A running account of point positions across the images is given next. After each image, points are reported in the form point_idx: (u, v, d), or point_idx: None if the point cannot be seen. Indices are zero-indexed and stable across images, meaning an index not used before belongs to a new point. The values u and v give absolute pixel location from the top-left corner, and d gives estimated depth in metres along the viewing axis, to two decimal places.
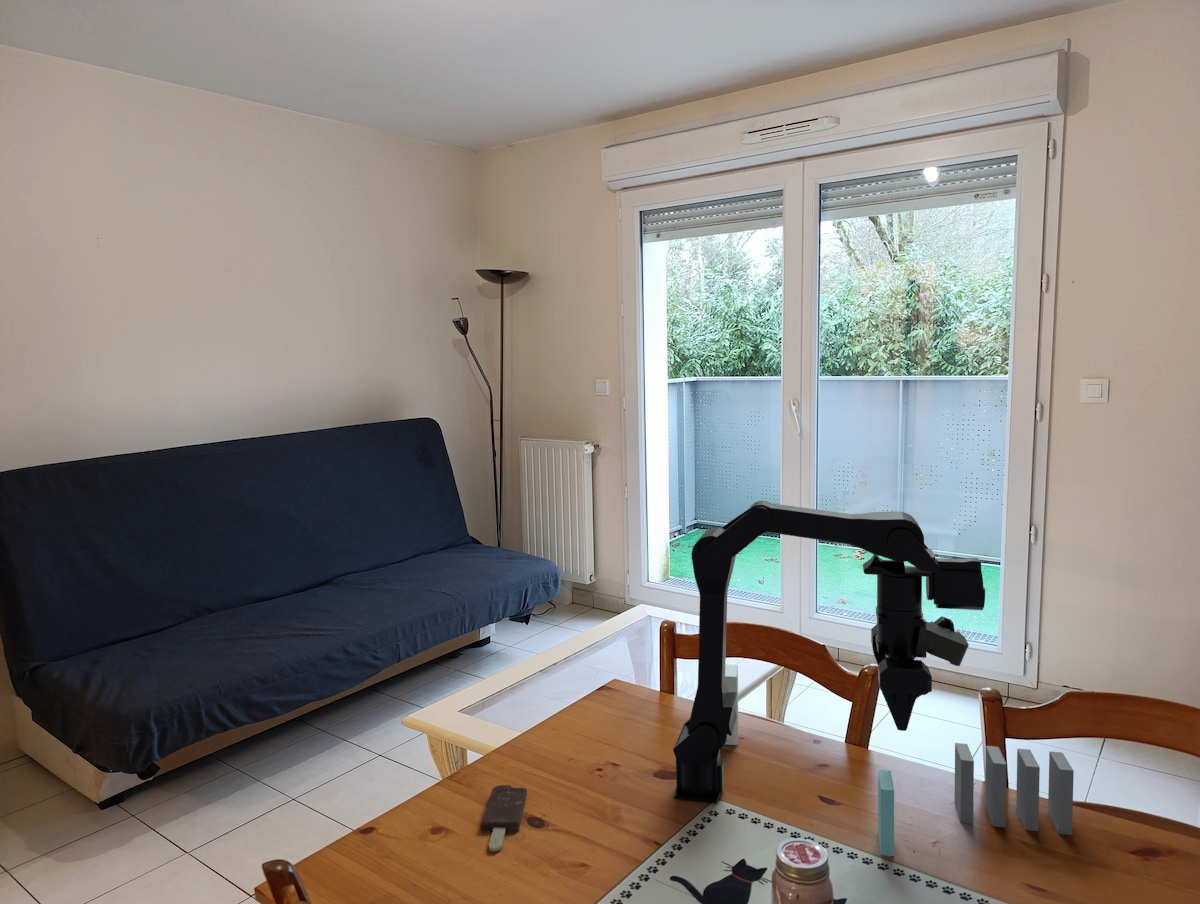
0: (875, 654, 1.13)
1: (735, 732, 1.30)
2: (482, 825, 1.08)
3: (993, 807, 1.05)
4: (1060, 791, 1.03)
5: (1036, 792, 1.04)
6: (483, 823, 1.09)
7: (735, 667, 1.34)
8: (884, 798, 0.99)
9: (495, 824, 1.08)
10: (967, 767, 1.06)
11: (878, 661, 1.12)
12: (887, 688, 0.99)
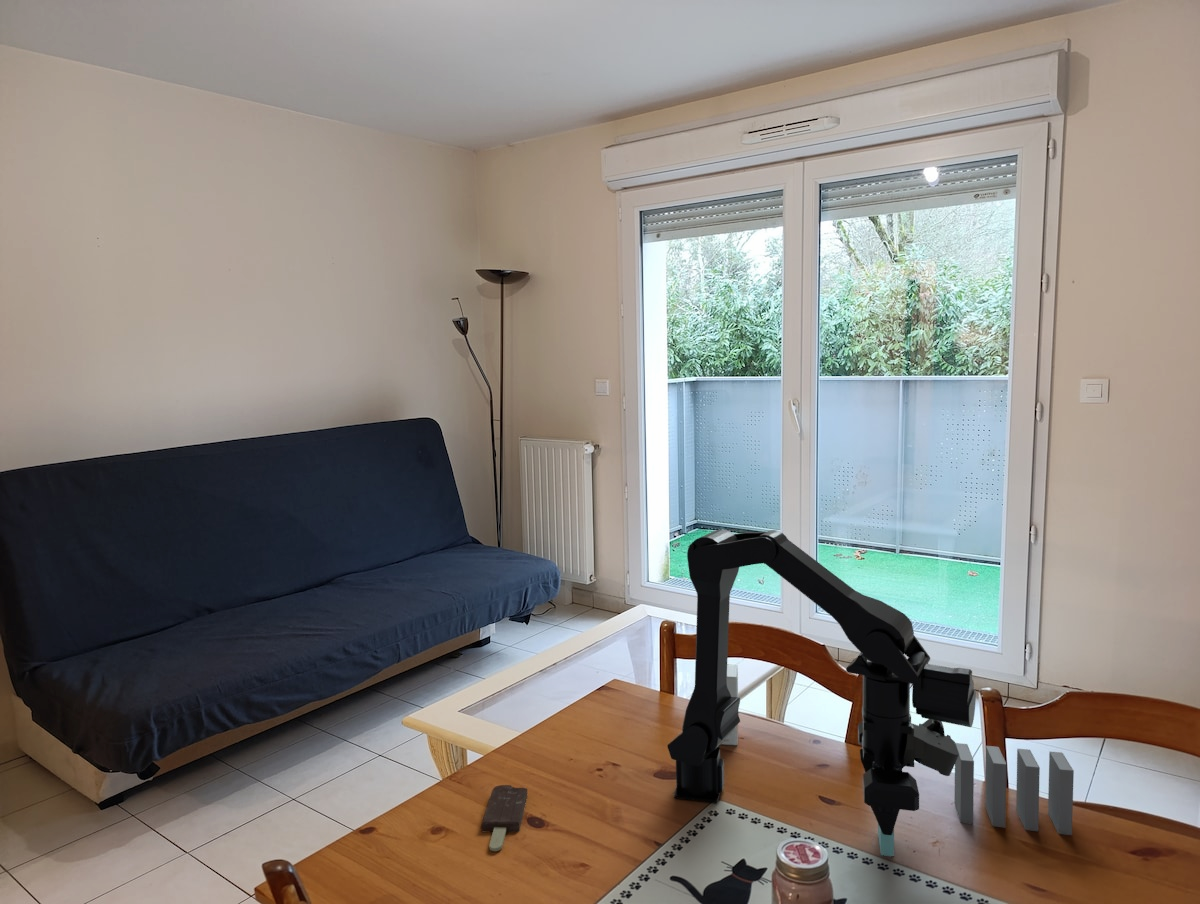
0: (862, 760, 1.05)
1: (735, 732, 1.30)
2: (483, 825, 1.08)
3: (993, 807, 1.05)
4: (1060, 791, 1.03)
5: (1036, 792, 1.04)
6: (484, 823, 1.09)
7: (735, 667, 1.34)
8: None
9: (495, 824, 1.08)
10: (967, 767, 1.06)
11: (865, 768, 1.05)
12: (872, 804, 0.93)
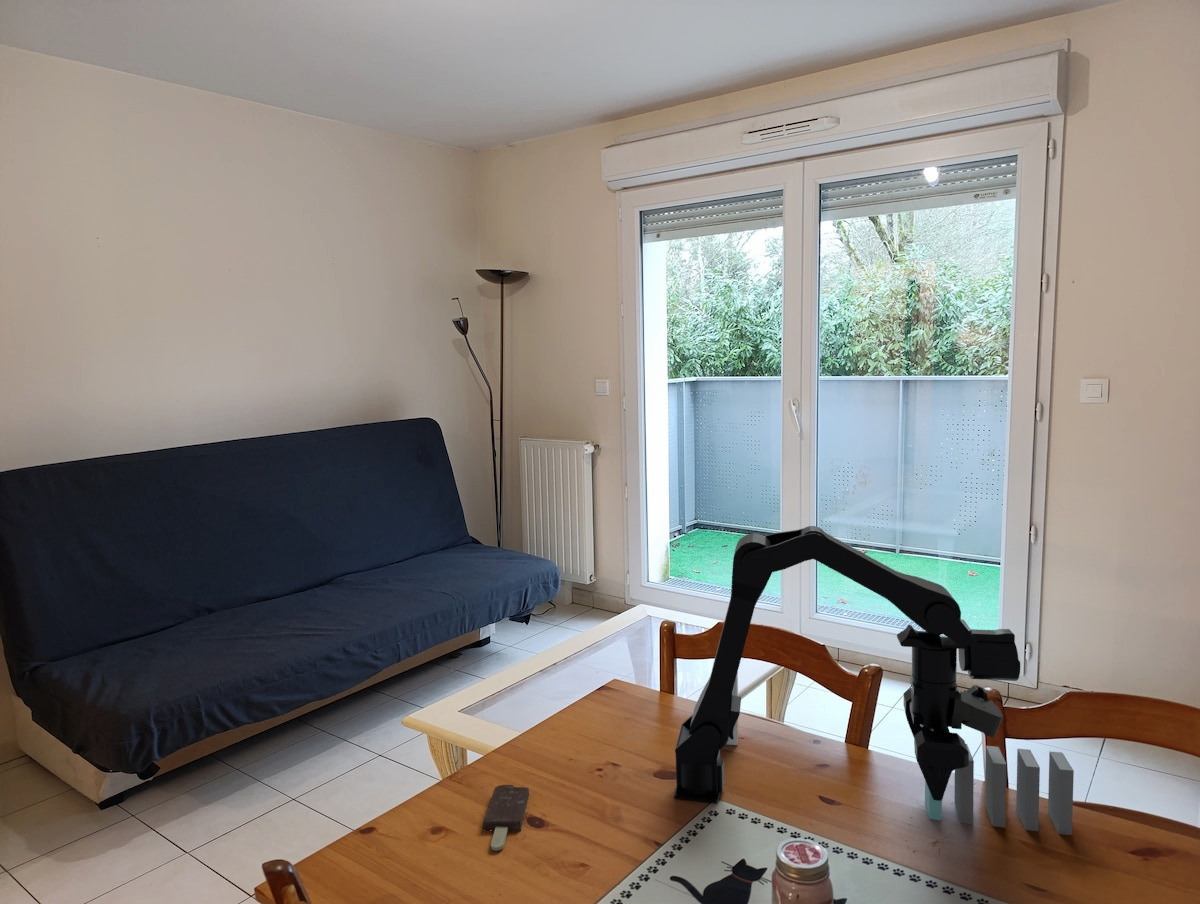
0: (908, 720, 1.15)
1: (735, 732, 1.30)
2: (484, 824, 1.09)
3: (993, 807, 1.05)
4: (1060, 791, 1.03)
5: (1036, 792, 1.04)
6: (485, 822, 1.09)
7: None
8: None
9: (497, 823, 1.09)
10: (967, 767, 1.06)
11: (911, 727, 1.14)
12: (924, 762, 1.01)
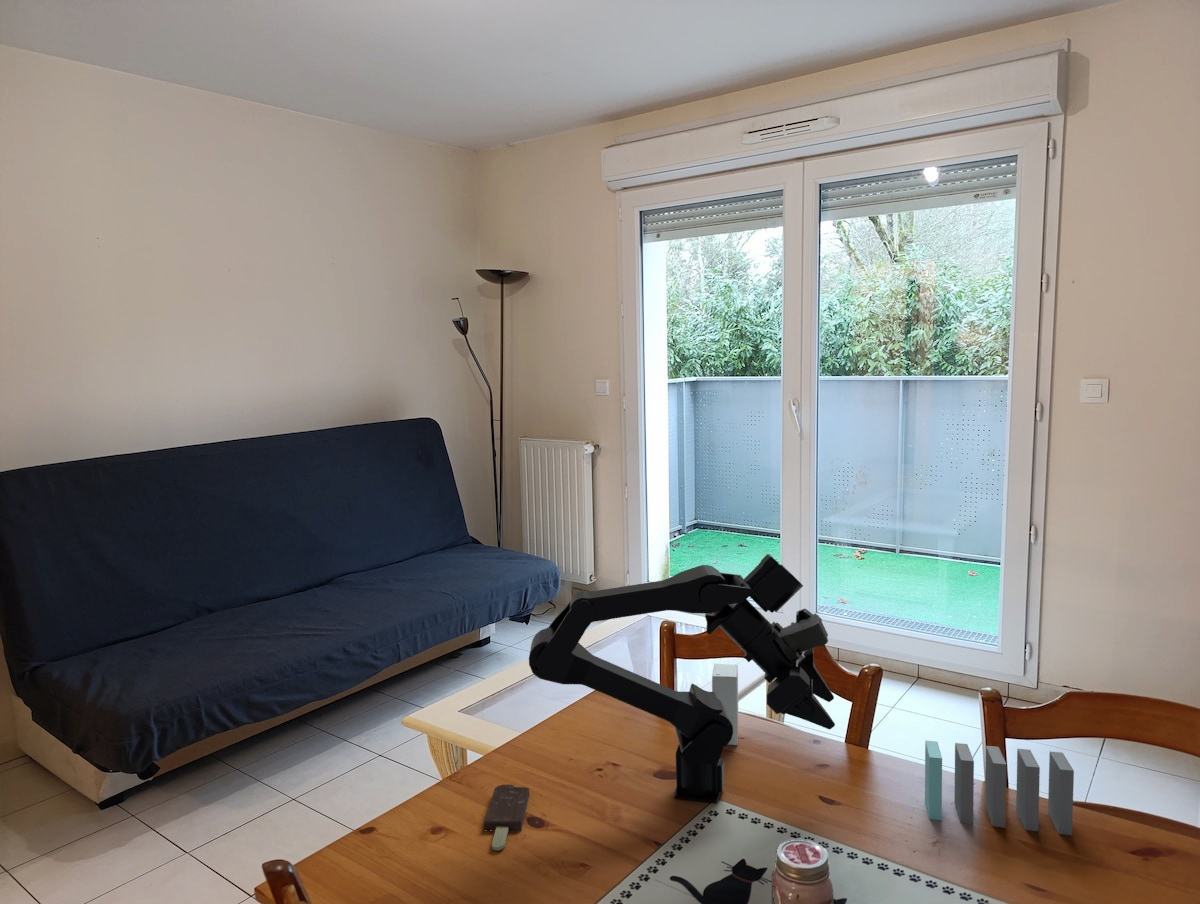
0: None
1: (735, 732, 1.30)
2: (485, 824, 1.09)
3: (993, 807, 1.05)
4: (1060, 791, 1.03)
5: (1036, 792, 1.04)
6: (486, 822, 1.09)
7: (735, 667, 1.34)
8: (932, 766, 1.07)
9: (498, 823, 1.09)
10: (967, 767, 1.06)
11: None
12: (780, 711, 1.05)
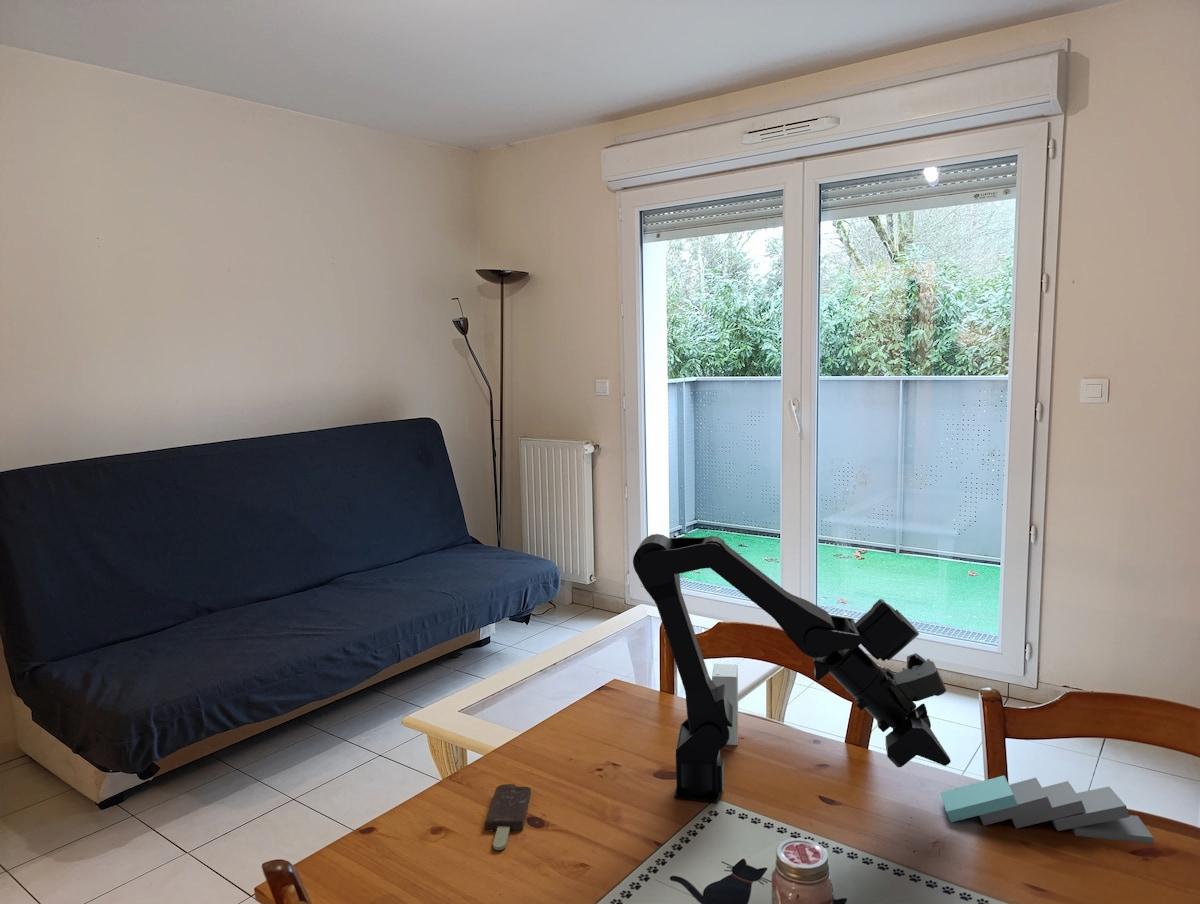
0: None
1: (735, 732, 1.30)
2: (486, 824, 1.09)
3: (1032, 813, 1.04)
4: (1126, 835, 1.01)
5: (1100, 820, 1.03)
6: (487, 822, 1.09)
7: (735, 667, 1.34)
8: (1004, 799, 1.05)
9: (499, 823, 1.09)
10: (1042, 804, 1.04)
11: None
12: (902, 764, 1.01)
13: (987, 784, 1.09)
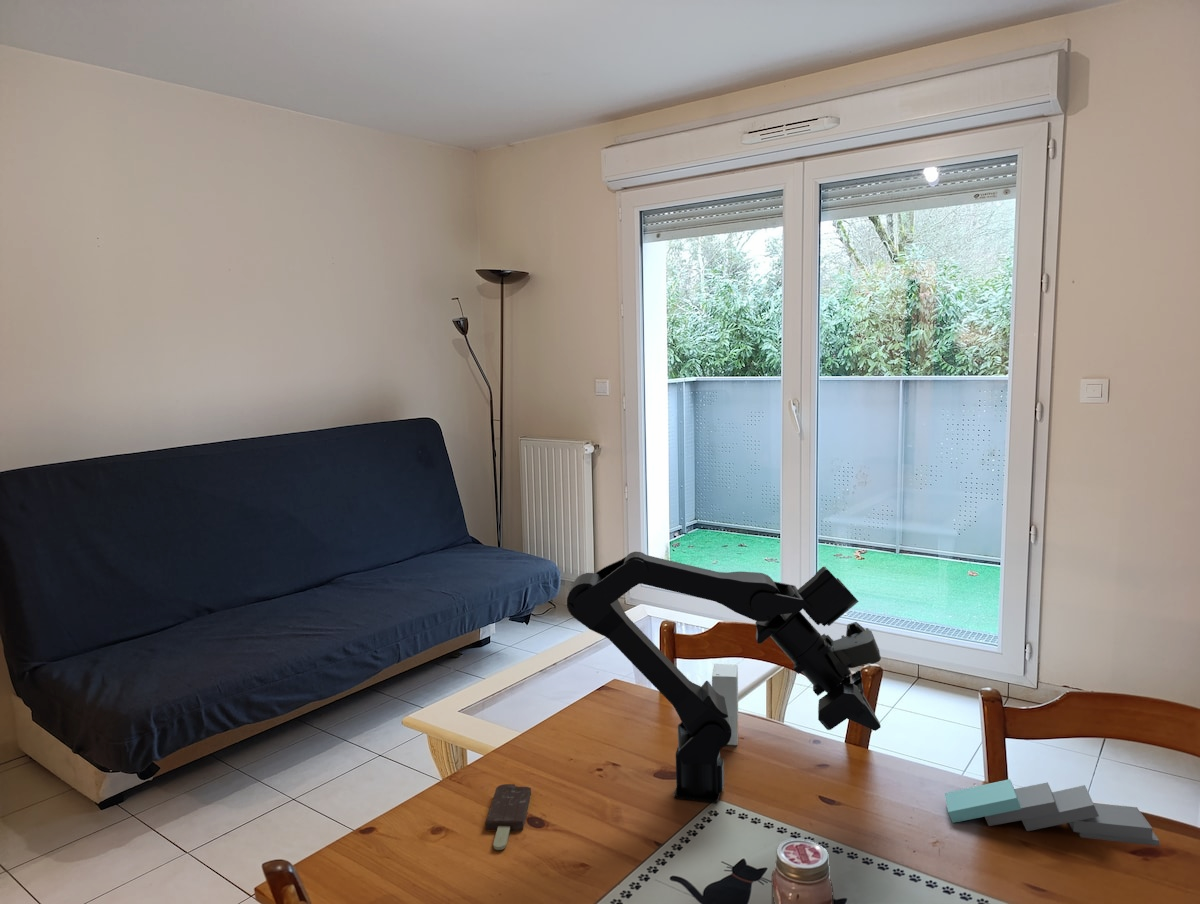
0: None
1: (735, 732, 1.30)
2: (487, 824, 1.09)
3: (1042, 816, 1.03)
4: (1131, 838, 1.01)
5: (1120, 834, 1.01)
6: (488, 822, 1.09)
7: (735, 667, 1.34)
8: (1008, 802, 1.04)
9: (499, 822, 1.09)
10: (1049, 809, 1.03)
11: None
12: (831, 727, 1.05)
13: (992, 787, 1.08)
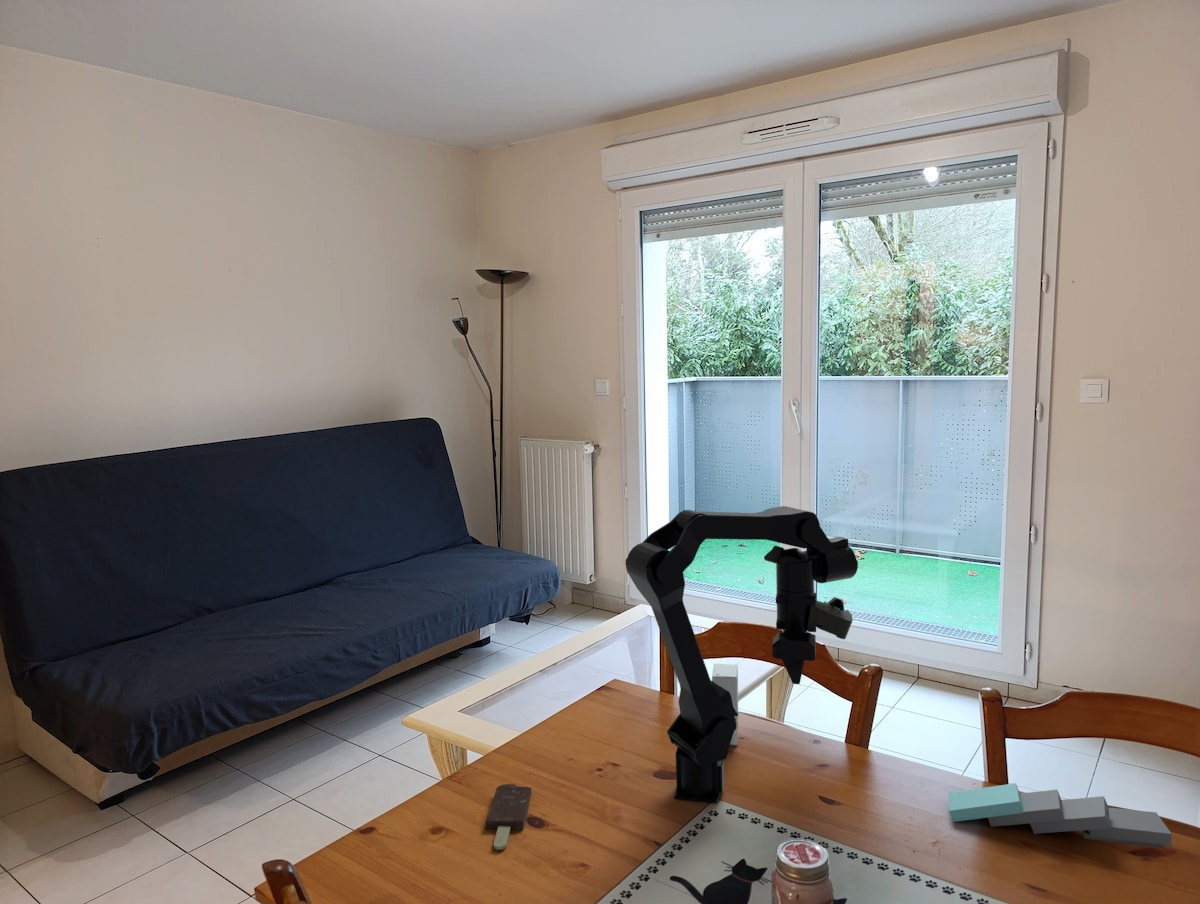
0: None
1: (735, 732, 1.30)
2: (487, 823, 1.09)
3: (1051, 821, 1.02)
4: None
5: (1138, 839, 1.00)
6: (488, 821, 1.09)
7: (735, 667, 1.34)
8: (1010, 805, 1.04)
9: (500, 822, 1.09)
10: (1053, 815, 1.02)
11: None
12: (778, 657, 1.14)
13: (996, 789, 1.08)
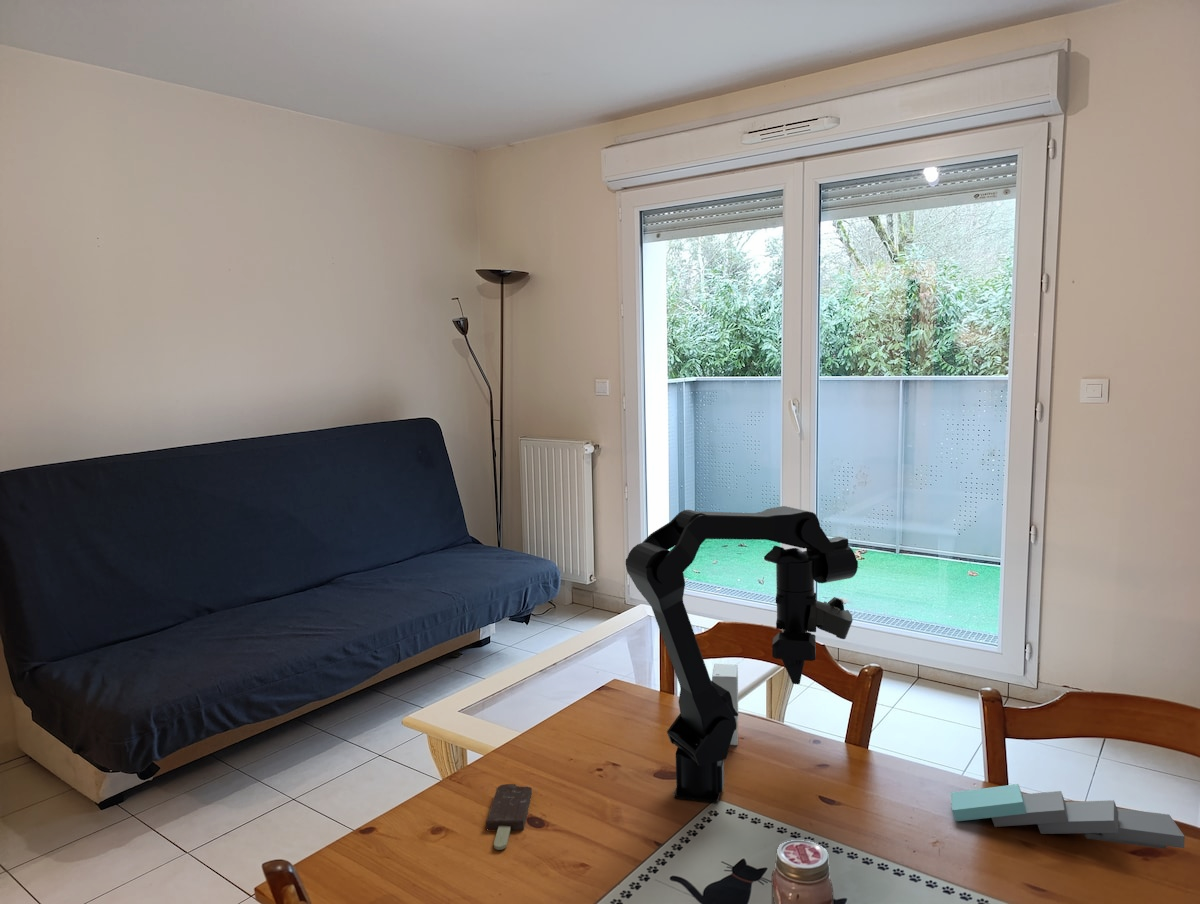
0: None
1: (735, 732, 1.30)
2: (487, 823, 1.09)
3: (1059, 822, 1.02)
4: None
5: (1151, 841, 1.00)
6: (488, 821, 1.09)
7: (735, 667, 1.34)
8: (1013, 806, 1.04)
9: (500, 822, 1.09)
10: (1058, 816, 1.02)
11: None
12: (778, 657, 1.14)
13: (999, 790, 1.08)
